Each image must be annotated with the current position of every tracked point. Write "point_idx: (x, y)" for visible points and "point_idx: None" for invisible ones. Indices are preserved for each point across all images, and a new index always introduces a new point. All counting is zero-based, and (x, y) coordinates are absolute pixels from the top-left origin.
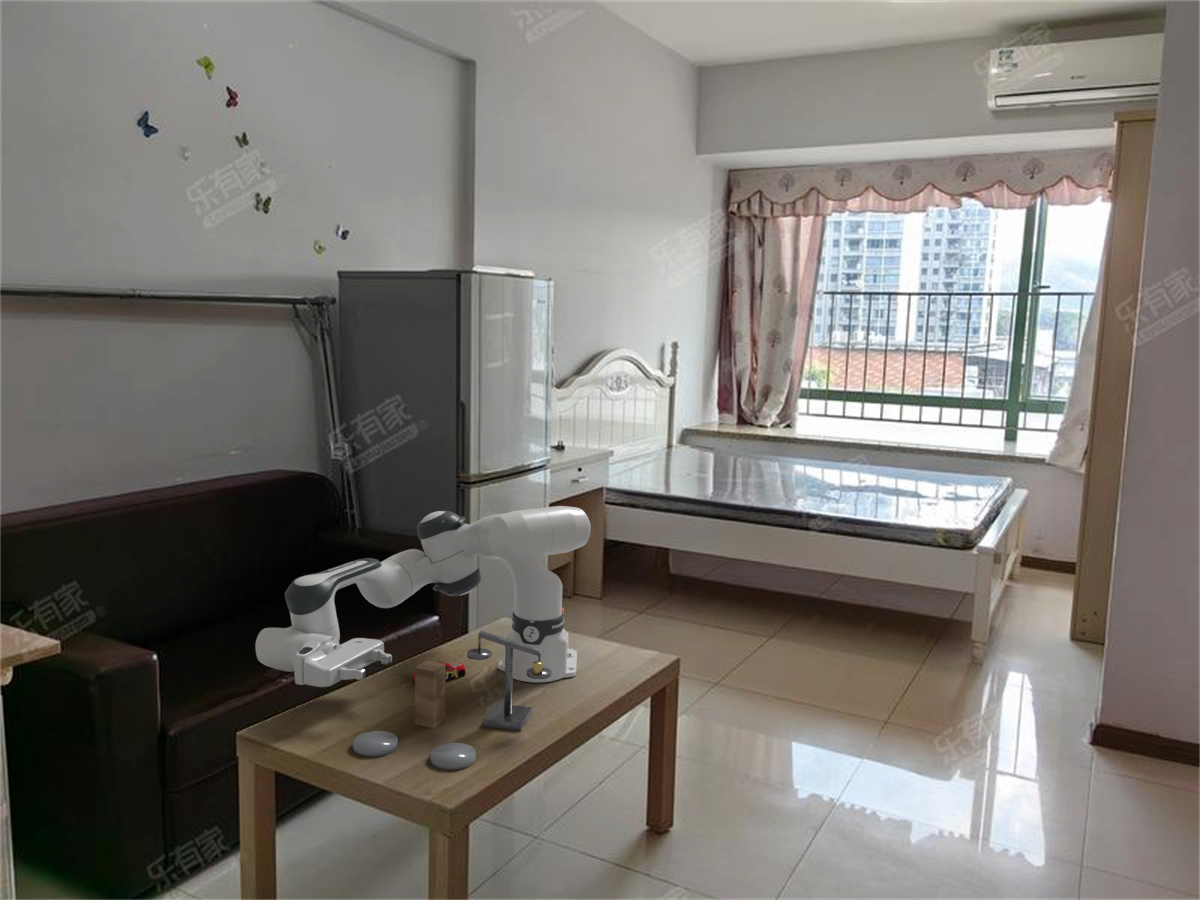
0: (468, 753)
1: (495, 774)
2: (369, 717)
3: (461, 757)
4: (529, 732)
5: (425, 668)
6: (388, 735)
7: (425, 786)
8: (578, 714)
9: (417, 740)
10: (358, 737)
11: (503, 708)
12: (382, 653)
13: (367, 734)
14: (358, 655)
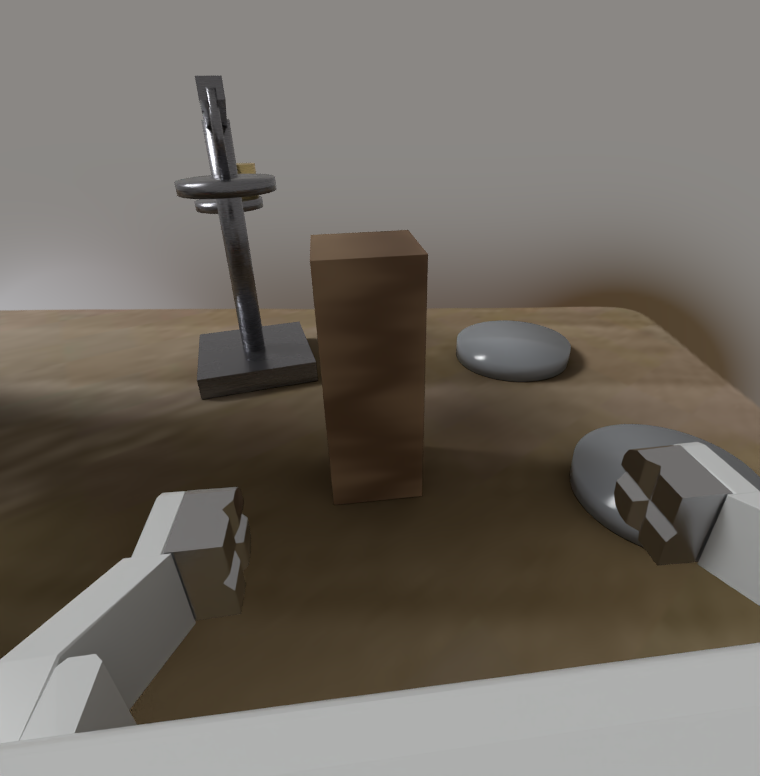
0: (488, 329)
1: (493, 309)
2: None
3: (513, 328)
4: None
5: (406, 242)
6: (598, 465)
7: (637, 342)
8: (177, 316)
9: (507, 435)
10: None
11: (228, 359)
12: (150, 569)
13: None
14: (508, 681)
